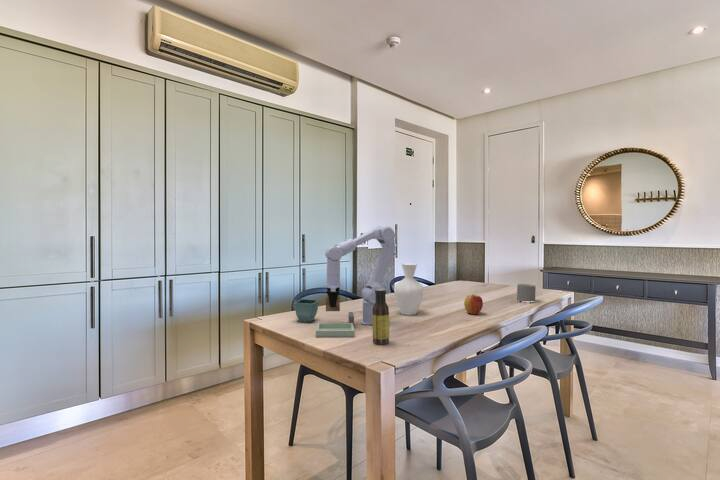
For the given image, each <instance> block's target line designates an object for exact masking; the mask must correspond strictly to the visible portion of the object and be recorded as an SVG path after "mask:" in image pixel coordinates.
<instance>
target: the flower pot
mask: <svg viewBox="0 0 720 480" xmlns="http://www.w3.org/2000/svg"><path fill="white" fill-rule="evenodd" d="M319 301H320V300H318V299H304V298H303V299H299V300H296V301H295V302H294V308H295V310H294V312H295V314H296V317H297V319H298V321H299V322H304V323H305V322H306V323H310V322H311V323H312V321H314V319H315V317H316V315H317V313H318V308H319V303H320V302H319Z"/></svg>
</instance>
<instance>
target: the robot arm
mask: <svg viewBox="0 0 720 480" xmlns="http://www.w3.org/2000/svg"><path fill="white" fill-rule="evenodd" d="M395 239H396V233H395V231H394V229H393V228H392V227H391V226H377V227H375V228H372V229H370V230H368V231H366V232H364V233H363V234H361V235H359V236H356V237H355V238H354V239H352V238H345V239H343V240H342V241H341V242H340V243H335V244H334V246H330V247H328V248H327V249H326V251H325V253H324V255H325V257H326V283H324V284H323V287H327V288H326V295H328V297H329V301H330V307H336V303H337V298H338V295H340V293H341V291H340V289H341V288H340V287H341V259H342V257H345V256H347V255H348V254H350V253H351V252H354V251H356V250H357V246H360V245H361V244H364V243H366V242H368V241H369V242H370V241H371V240H377V242H379V244H380V246H381V248H382V250H381V252H380V255H379V257H378V259H377V262H376V265H375V267H374V270H373V272H372V275H371V277H370V280H368V282H367V283H366V285H365V286H364V288H362V290H361V293H360V296H361V298H362V299H363V300H362V319H360V321H361V324H362V325H368V326H369V325H373V320H372V314H373V306H374V304H375V302H376V301H375V300H376V294H375V290H376V289H383V288H382V284H383V281H384V279H385V276H386V274H387V270H388V268H389V266H390V263H391V260H392V258H393V256H394V253H395V250H396V241H395Z"/></svg>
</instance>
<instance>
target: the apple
mask: <svg viewBox="0 0 720 480" xmlns="http://www.w3.org/2000/svg"><path fill="white" fill-rule="evenodd" d="M483 301H484V300H483V298H482V297H481V296H480V295H478V294H471V295H470V294H469V295H467V296H466V297H465V299H464V301H463V302H464V303H463V305H464V309H465V311H466V313H467V314H469V313H470V314H469V315H478V314H480V313H481V311H482V308H483V305H484V302H483Z"/></svg>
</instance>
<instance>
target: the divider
mask: <svg viewBox="0 0 720 480" xmlns="http://www.w3.org/2000/svg"><path fill="white" fill-rule="evenodd" d="M347 323H353V326H354V327H355V315H354V312H353V311H348V322H347Z"/></svg>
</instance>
